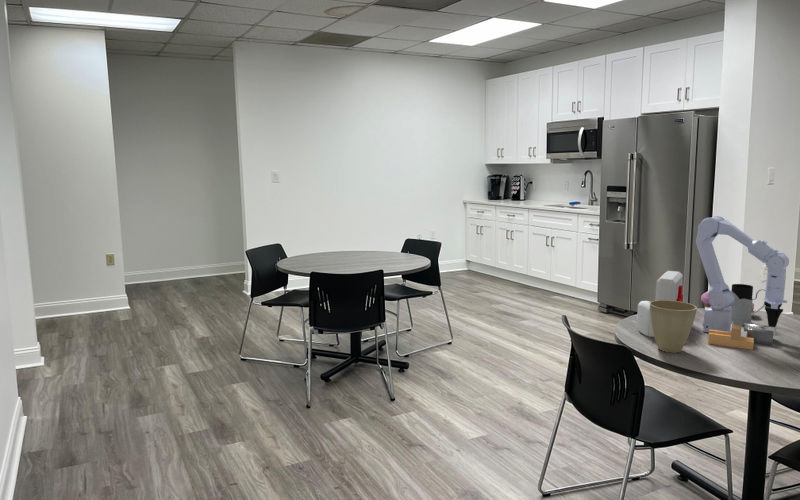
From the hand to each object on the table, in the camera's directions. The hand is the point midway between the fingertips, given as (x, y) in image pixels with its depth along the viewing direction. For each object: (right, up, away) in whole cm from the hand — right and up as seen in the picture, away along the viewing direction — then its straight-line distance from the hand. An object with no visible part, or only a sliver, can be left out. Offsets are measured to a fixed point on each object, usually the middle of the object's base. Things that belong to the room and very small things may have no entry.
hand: (771, 324), depth 217 cm
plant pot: (-40, -8, -8) cm, 42 cm away
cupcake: (-1, -1, +39) cm, 39 cm away
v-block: (-3, -6, +3) cm, 7 cm away
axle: (-3, -4, +2) cm, 5 cm away
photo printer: (-41, -5, +11) cm, 42 cm away
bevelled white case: (-27, -3, +24) cm, 36 cm away
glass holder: (+6, -3, +26) cm, 27 cm away
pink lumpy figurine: (+11, -1, +36) cm, 38 cm away
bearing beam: (-17, -7, -2) cm, 18 cm away
